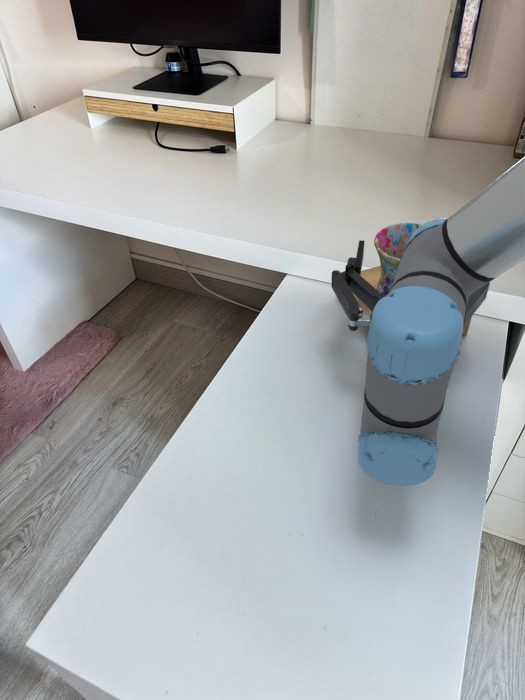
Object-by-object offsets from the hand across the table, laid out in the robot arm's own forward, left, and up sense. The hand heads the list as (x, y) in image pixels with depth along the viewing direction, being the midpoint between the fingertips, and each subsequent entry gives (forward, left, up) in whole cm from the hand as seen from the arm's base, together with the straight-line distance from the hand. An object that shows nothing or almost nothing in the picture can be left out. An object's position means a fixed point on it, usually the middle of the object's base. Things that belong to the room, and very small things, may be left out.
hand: (409, 250), depth 73 cm
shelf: (-1, +1, -12) cm, 12 cm away
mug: (-1, +1, -8) cm, 8 cm away
